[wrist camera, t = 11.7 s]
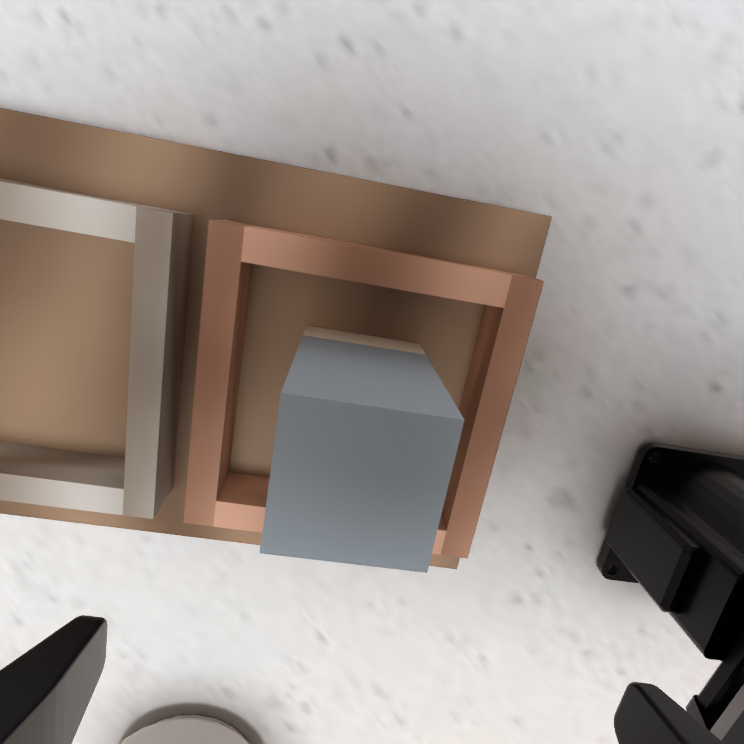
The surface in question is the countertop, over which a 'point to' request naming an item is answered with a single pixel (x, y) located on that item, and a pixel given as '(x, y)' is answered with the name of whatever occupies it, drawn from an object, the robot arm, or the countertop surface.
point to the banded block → (360, 453)
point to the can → (186, 732)
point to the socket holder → (226, 321)
